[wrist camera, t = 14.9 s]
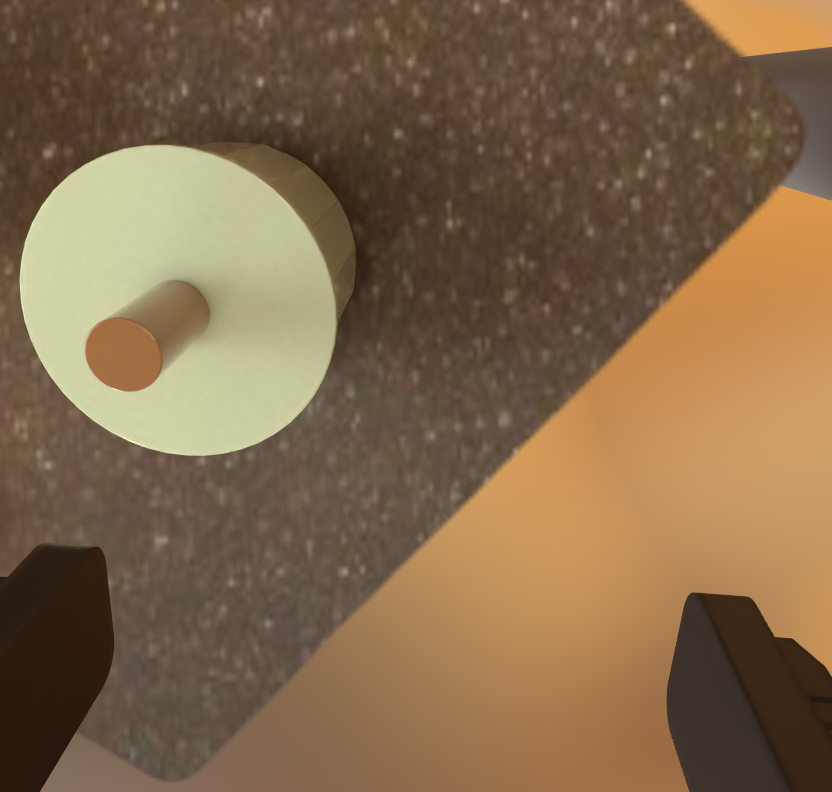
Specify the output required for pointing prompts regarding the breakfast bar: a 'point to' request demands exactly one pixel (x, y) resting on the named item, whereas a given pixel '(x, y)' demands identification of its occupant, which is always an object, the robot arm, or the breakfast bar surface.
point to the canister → (304, 205)
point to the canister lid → (179, 299)
